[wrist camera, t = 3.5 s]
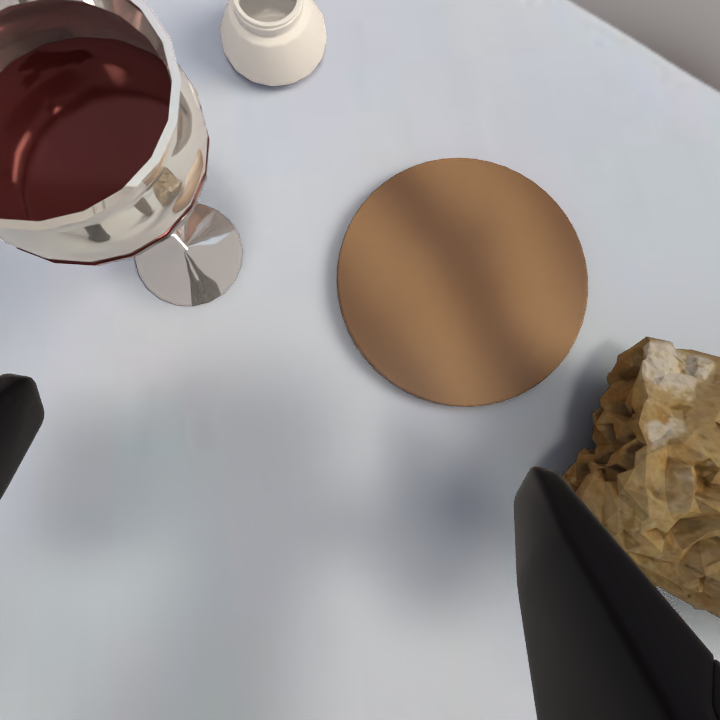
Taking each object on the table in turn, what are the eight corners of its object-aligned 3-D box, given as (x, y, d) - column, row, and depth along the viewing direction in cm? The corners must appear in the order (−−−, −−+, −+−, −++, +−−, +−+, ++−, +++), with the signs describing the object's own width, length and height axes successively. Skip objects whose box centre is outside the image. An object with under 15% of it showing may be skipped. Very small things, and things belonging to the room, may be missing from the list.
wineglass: (276, 202, 24) (214, -10, 12) (243, 338, 23) (142, 262, 11) (136, 171, 23) (-72, -77, 11) (98, 308, 23) (-165, 196, 11)
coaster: (447, 459, 23) (450, 460, 22) (285, 261, 23) (284, 258, 23) (632, 300, 24) (639, 298, 23) (474, 116, 25) (477, 110, 24)
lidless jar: (287, 110, 24) (345, 34, 25) (280, 69, 21) (346, -17, 22) (203, 53, 24) (263, -21, 25) (185, 4, 21) (254, -80, 22)
